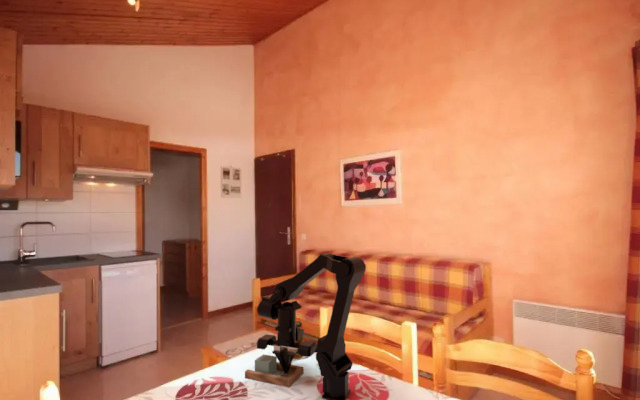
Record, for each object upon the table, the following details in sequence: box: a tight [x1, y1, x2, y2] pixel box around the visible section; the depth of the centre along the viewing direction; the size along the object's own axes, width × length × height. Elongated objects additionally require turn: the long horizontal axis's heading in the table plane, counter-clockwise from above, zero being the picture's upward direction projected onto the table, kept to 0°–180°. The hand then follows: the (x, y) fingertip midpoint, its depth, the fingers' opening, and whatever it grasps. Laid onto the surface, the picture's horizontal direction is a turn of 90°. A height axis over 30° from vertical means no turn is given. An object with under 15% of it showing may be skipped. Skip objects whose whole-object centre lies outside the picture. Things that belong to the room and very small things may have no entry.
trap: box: [279, 372, 292, 377], centre depth 109 cm, size 4×6×1 cm, turn 157°
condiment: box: [292, 320, 307, 361], centre depth 127 cm, size 7×8×12 cm
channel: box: [244, 361, 305, 388], centre depth 111 cm, size 16×10×2 cm, turn 67°
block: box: [254, 354, 278, 375], centre depth 112 cm, size 5×5×5 cm
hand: (286, 372), depth 109 cm, fingers closed
